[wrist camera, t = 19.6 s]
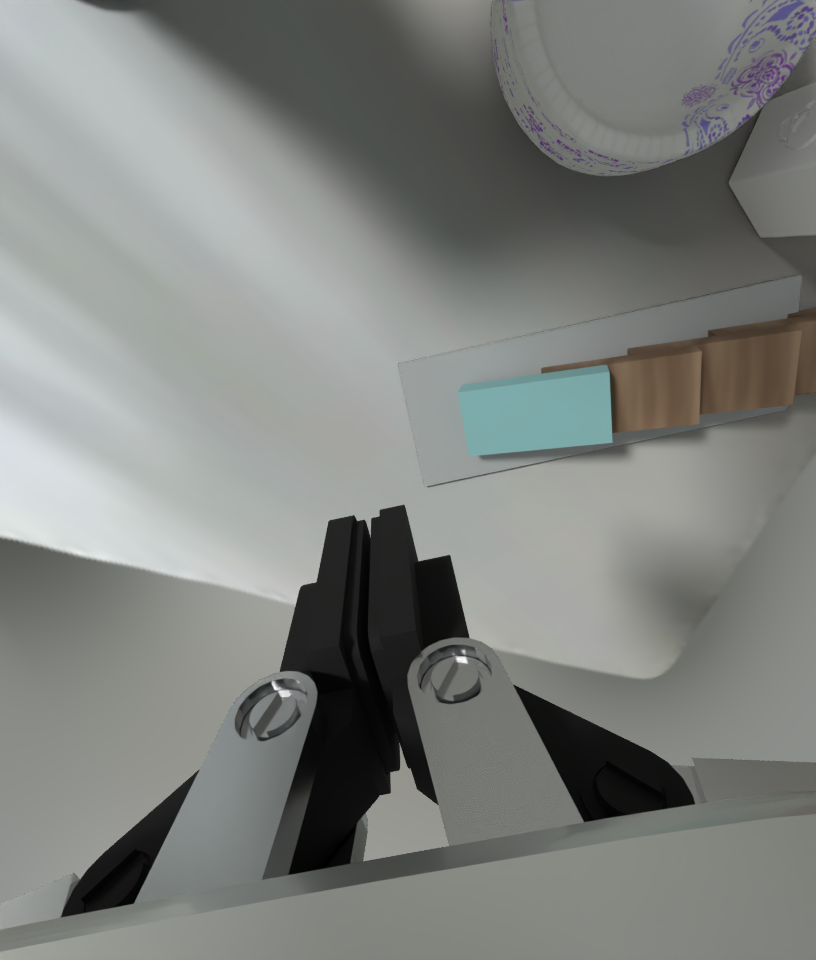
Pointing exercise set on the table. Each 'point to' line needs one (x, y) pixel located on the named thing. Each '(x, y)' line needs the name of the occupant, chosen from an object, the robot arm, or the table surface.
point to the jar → (780, 167)
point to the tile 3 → (744, 368)
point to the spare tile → (538, 411)
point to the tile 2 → (651, 388)
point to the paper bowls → (641, 73)
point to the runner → (443, 375)
